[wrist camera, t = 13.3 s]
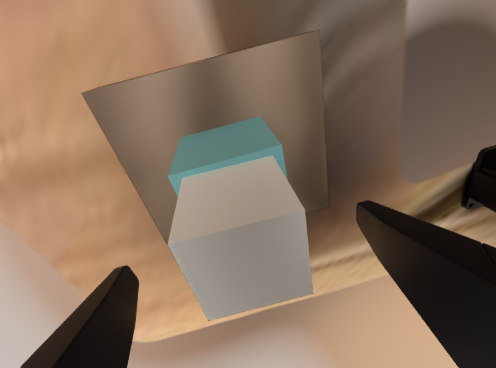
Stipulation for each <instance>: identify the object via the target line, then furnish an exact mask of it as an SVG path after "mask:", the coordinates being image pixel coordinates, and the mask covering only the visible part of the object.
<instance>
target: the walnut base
mask: <svg viewBox="0 0 496 368" xmlns="http://www.w3.org/2000/svg"><path fill="white" fill-rule="evenodd" d="M81 94H82V95H83V97H84V99H85V101H86V103H87V104H88V106H89V108H90V110H91V111H92V113H93V115H94V117H95V118H96V120H97V122H98V124H99V125H100V127H101V129H102V131H103V132H104V134H105V136H106V138H107V140H108V141H109V143H110V145H111V147H112V148H113V150H114V152H115V154H116V155H117V157H118V159H119V161H120V162H121V164H122V166H123V168H124V169H125V171H126V173H127V175H128V176H129V178H130V180H131V182H132V184H133V185H134V187H135V189H136V191H137V192H138V194H139V196H140V198H141V199H142V201H143V203H144V205H145V206H146V208H147V210H148V212H149V213H150V215H151V217H152V219H153V221H154V222H155V224H156V226H157V228H158V229H159V231H160V233H161V235H162V236H163V238H164V240H165V242H166V243H167V245H168V240H169V236H170V231H171V227H172V222H173V218H174V213H175V208H176V204H177V199H178V197H177V195H176V193H175V190H174V188H173V186H172V184H171V182H170V180H169V178H168V173H169V170H170V168H171V165H172V162H173V159H174V156H175V153H176V150H177V147H178V144H179V141H180V138H182V137H185V136H189V135H193V134H196V133H200V132H204V131H207V130H211V129H215V128H218V127H222V126H226V125H229V124H233V123H237V122H240V121H244V120H248V119H251V118H255V117H259V116H260V117H261V118H262V119H263V121H264V122H265V123H266V125H267V126H268V127H269V129H270V130H271V131H272V133H273V134H274V135H275V137H276V138H277V139H278V140H279V142H280V143H281V144H282V149H283V155H284V162H285V168H286V174H287V180H288V182H289V184H290V185H291V187H292V189H293V191H294V192H295V194H296V196H297V197H298V199H299V201H300V202H301V204H302V206H303V207H304V209H305V213H309V212H312V211H316V210H320V209H323V208H327V207H329V197H328V179H327V160H326V141H325V123H324V104H323V85H322V67H321V48H320V30H317V31H312V32H306V33H303V34H299V35H295V36H291V37H287V38H284V39H280V40H276V41H272V42H269V43H265V44H261V45H257V46H253V47H250V48H246V49H242V50H238V51H234V52H231V53H227V54H223V55H219V56H216V57H212V58H208V59H204V60H200V61H197V62H193V63H189V64H185V65H181V66H178V67H174V68H170V69H166V70H163V71H159V72H155V73H151V74H147V75H144V76H140V77H136V78H132V79H129V80H125V81H121V82H117V83H113V84H110V85H106V86H102V87H98V88H95V89H92V90H89V91H86V92H83V93H81ZM169 249H170V248H169Z"/></svg>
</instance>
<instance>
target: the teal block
mask: <svg viewBox="0 0 496 368" xmlns="http://www.w3.org/2000/svg"><path fill="white" fill-rule="evenodd" d="M272 155H273V157H274V158H275V160H276V162H277V164H278V165H279V167H280V169H281V170H282V172H283V174H284V175H285V177H286V179H287V174H286V168H285V162H284V155H283V149H282V144H281V143H280V142H279V140H278V139H277V138H276V137H275V135H274V134H273V133H272V131H271V130H270V129H269V127H268V126H267V125H266V123H265V122H264V121H263V119H262V118H261V117H260V116H259V117H255V118H251V119H248V120H244V121H240V122H237V123H233V124H229V125H226V126H222V127H218V128H215V129H211V130H207V131H204V132H200V133H196V134H193V135H189V136H185V137H182V138H180V141H179V144H178V147H177V150H176V153H175V156H174V159H173V162H172V165H171V168H170V170H169V173H168V178H169V180H170V182H171V184H172V186H173V188H174V190H175V193H176V195H177V197H178V195H179V190H180V186H181V181H182V178H184V177H188V176H192V175H196V174H200V173H204V172H208V171H212V170H216V169H220V168H224V167H228V166H232V165H236V164H240V163H244V162H248V161H252V160H256V159H260V158H264V157H268V156H272Z"/></svg>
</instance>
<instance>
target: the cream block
mask: <svg viewBox="0 0 496 368" xmlns="http://www.w3.org/2000/svg"><path fill="white" fill-rule="evenodd" d="M168 247H169V248H170V250H171V252H172V254H173V256H174V258H175V260H176V261H177V263H178V265H179V267H180V269H181V271H182V273H183V275H184V276H185V278H186V280H187V282H188V284H189V286H190V288H191V289H192V291H193V293H194V295H195V297H196V299H197V301H198V302H199V304H200V306H201V308H202V310H203V312H204V314H205V315H206V317H207V319H208V321H210V320H214V319H218V318H222V317H226V316H229V315H233V314H237V313H241V312H245V311H249V310H252V309H256V308H260V307H264V306H268V305H272V304H275V303H279V302H283V301H287V300H291V299H295V298H298V297H302V296H306V295H310V294H313V287H312V277H311V267H310V256H309V246H308V236H307V226H306V216H305V209H304V207H303V206H302V204H301V202H300V201H299V199H298V197H297V196H296V194H295V192H294V191H293V189H292V187H291V185H290V184H289V182H288V180H287V179H286V177H285V175H284V174H283V172H282V170H281V169H280V167H279V165H278V164H277V162H276V160H275V158H274V157H273V155H272V156H268V157H264V158H260V159H256V160H252V161H248V162H244V163H240V164H236V165H232V166H228V167H224V168H220V169H216V170H212V171H208V172H204V173H200V174H196V175H192V176H188V177H184V178H182V181H181V186H180V190H179V195H178V199H177V204H176V208H175V213H174V218H173V222H172V227H171V231H170V236H169V240H168Z"/></svg>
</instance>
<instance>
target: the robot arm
mask: <svg viewBox="0 0 496 368" xmlns="http://www.w3.org/2000/svg"><path fill="white" fill-rule="evenodd" d="M462 206H463V207H464V208H466V209H468V210H469V209H473V208H477V207H480V206H485V207H487V208H488V209H490V210H492V211H494V212H496V145H494V146H491V147H487V148H484V149H482V150H481V151H480V152H479V154H478V157H477V160H476V163H475V166H474V169H473V173H472V176H471V179H470V182H469V185H468V188H467V191H466V195H465V198H464V201H463V204H462ZM356 220H357V224H358V226H359V228H360V229H361V231H362V233H363V234H364V236H365V238H366V239H367V241H368V243H369V245H370V246H371V248H372V250H373V251H374V253H375V255H376V256H377V258H378V259H379V261H380V262H381V264H382V265H383V266H384V268H385V269H386V270H387V272H388V273H389V275H390V276H391V277H392V279H393V280H394V281H395V282H396V284H397V285H398V287H399V288H400V289H401V291H402V292H403V293H404V295H405V296H406V297H407V298H408V300H409V301H410V303H411V304H412V305H413V307H414V308H415V309H416V311H417V312H418V314H419V315H420V316H421V318H422V319H423V320H424V322H425V323H426V324H427V326H428V327H429V328H430V330H431V331H432V332H433V334H434V335H435V336H436V338H437V339H438V340H439V342H440V343H441V345H442V346H443V347H444V349H445V350H446V351H447V353H448V354H449V355H450V357H451V358H452V359H453V361H454V362H455V363H456V365H457V366H458V367H459V368H496V248H495V247H492V246H490V245H487V244H484V243H482V244H481V242H479V241H476V240H474V239H471V238H468V237H466V236H463V235H460V234H458V233H455V232H452V231H450V230H447V229H444V228H442V227H439V226H436V225H434V224H431V223H428V222H426V221H423V220H420V219H418V218H415V217H412V216H410V215H407V214H404V213H402V212H399V211H396V210H394V209H391V208H388V207H386V206H383V205H380V204H378V203H375V202H372V201H369V200H366V201H362V202H359V203H358V204H357V209H356ZM138 290H139V281H138V278H137V277H136V275H135V274H134V273H133V271H132V270H131V269H130V267H129V266H121V267H118V268H116V269H114V270H113V271H112V272H111V273H110V274H109V275H108V277H107V278H106V279H105V280H104V281H103V282H102V283H101V284H100V285H99V286H98V287H97V288H96V289H95V290H94V291H93V292H92V293H91V294H90V295H89V296H88V297H87V298H86V299H85V300H84V301H83V302H82V304H81V305H80V306H79V307H78V308H77V309H76V310H75V311H74V312H73V313H72V314H71V315H70V316H69V317H68V318H67V319H66V320H65V321H64V322H63V323H62V324H61V325H60V326H59V327H58V328H57V329H56V330H55V332H54V333H53V334H52V335H51V336H50V337H49V338H48V339H47V340H46V341H45V342H44V343H43V344H42V345H41V346H40V347H39V348H38V349H37V350H36V351H35V352H34V353H33V354H32V355H31V357H29V359H28V360H27V361H26V362H25V363H24V364H23V365H22V366H21V367H20V368H127V365H128V360H129V355H130V349H131V344H132V339H133V334H134V328H135V322H136V312H137V301H138Z"/></svg>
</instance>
